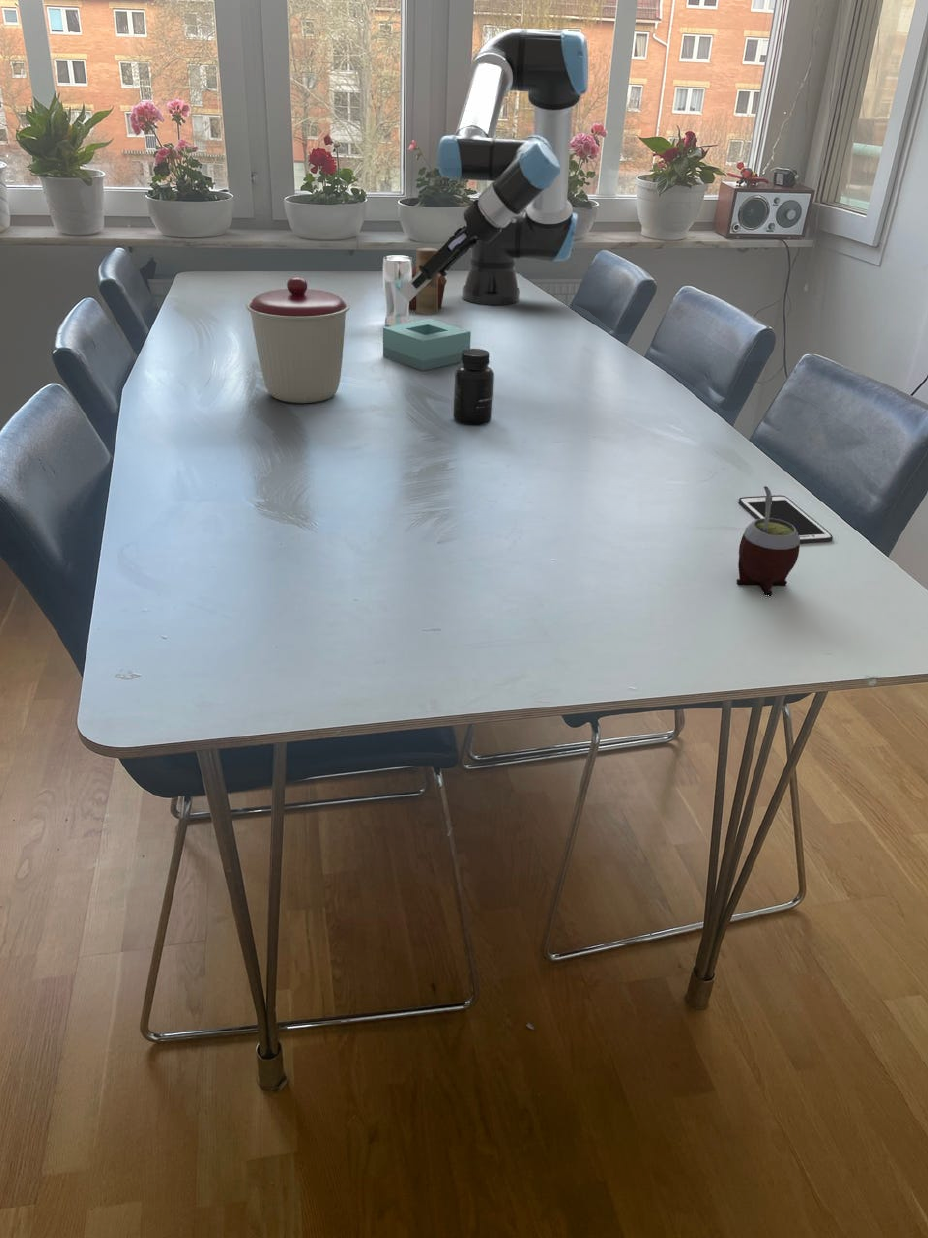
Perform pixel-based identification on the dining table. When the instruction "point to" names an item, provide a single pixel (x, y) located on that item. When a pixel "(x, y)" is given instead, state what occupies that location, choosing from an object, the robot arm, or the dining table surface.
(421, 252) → the dowel pin
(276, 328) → the canister
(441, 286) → the muffin
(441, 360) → the socket block
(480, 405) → the supplement bottle
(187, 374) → the dining table surface
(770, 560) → the mate gourd
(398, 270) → the beer glass
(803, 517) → the cell phone
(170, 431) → the dining table surface
